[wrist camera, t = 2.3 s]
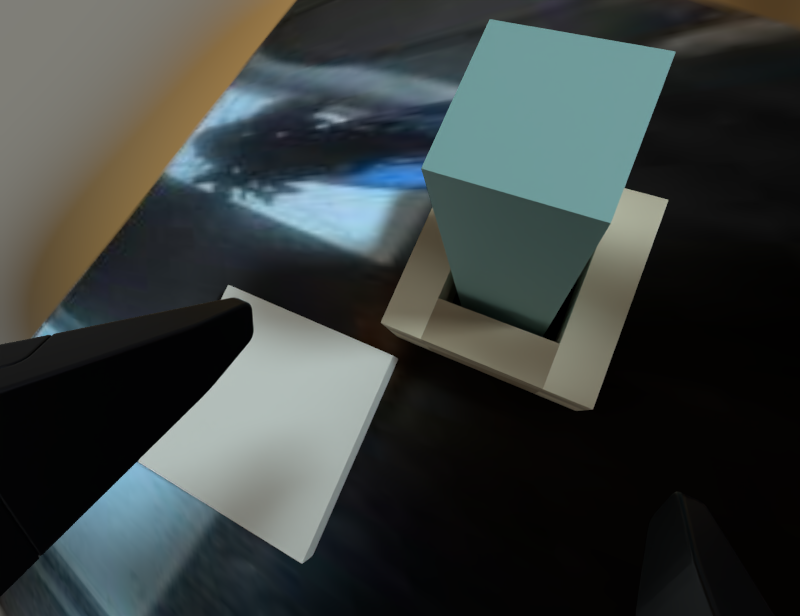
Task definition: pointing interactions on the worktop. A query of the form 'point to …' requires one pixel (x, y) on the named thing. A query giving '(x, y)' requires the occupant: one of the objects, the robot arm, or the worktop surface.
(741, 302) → the worktop surface
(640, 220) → the socket block
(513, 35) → the post
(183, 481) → the pad
